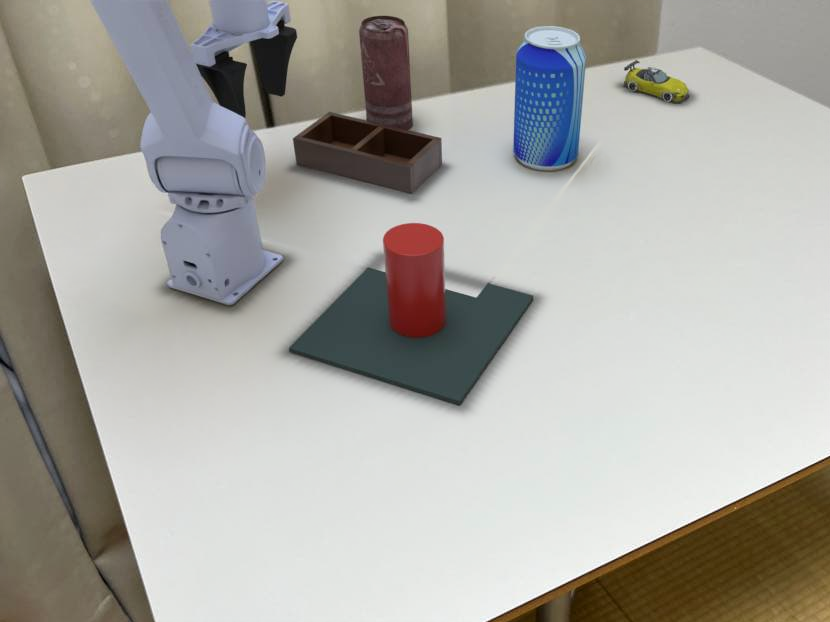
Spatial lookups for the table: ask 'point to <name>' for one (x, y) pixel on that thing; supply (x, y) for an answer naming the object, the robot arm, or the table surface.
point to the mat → (407, 356)
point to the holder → (368, 152)
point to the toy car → (655, 83)
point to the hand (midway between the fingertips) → (256, 106)
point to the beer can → (548, 98)
